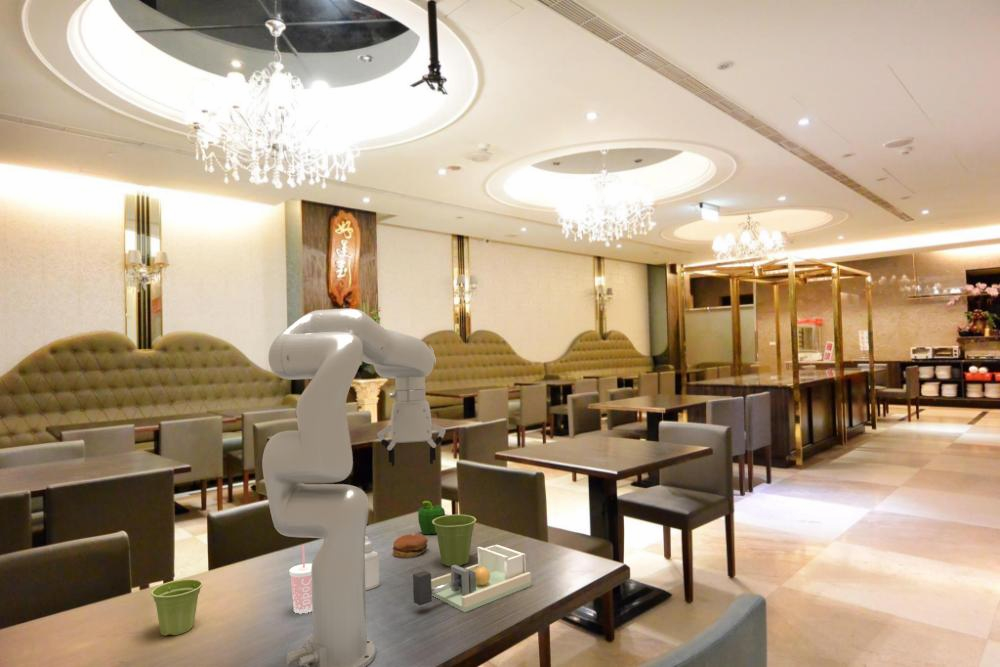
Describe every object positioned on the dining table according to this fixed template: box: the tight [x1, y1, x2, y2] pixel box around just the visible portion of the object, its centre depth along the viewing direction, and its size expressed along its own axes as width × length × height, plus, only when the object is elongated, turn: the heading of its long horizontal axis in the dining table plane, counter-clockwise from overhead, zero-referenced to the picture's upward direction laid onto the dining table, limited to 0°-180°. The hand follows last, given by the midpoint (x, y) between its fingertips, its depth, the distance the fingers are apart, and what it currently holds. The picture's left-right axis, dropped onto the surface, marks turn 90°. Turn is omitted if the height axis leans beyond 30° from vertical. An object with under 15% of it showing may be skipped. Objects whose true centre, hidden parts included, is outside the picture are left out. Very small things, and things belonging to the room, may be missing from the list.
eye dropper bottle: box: [365, 536, 380, 591], centre depth 139 cm, size 4×6×12 cm
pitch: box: [431, 544, 532, 613], centre depth 135 cm, size 20×14×8 cm
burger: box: [392, 533, 429, 559], centre depth 163 cm, size 10×9×5 cm
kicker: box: [412, 566, 476, 607], centre depth 128 cm, size 14×5×6 cm, turn 131°
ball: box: [474, 567, 490, 585], centre depth 135 cm, size 4×4×4 cm
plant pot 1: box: [150, 578, 204, 637], centre depth 120 cm, size 9×9×9 cm
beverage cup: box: [288, 544, 312, 615], centre depth 128 cm, size 6×6×14 cm
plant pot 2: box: [432, 514, 477, 567], centre depth 154 cm, size 12×12×11 cm
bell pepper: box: [417, 500, 446, 535], centre depth 181 cm, size 8×8×10 cm
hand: (412, 464), depth 146 cm, fingers open, 9 cm apart
